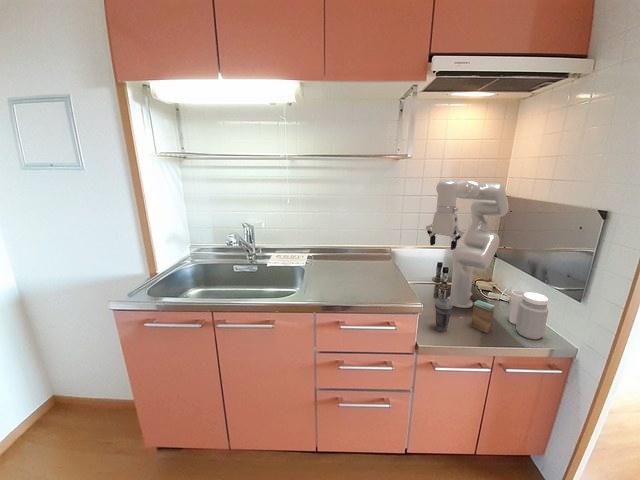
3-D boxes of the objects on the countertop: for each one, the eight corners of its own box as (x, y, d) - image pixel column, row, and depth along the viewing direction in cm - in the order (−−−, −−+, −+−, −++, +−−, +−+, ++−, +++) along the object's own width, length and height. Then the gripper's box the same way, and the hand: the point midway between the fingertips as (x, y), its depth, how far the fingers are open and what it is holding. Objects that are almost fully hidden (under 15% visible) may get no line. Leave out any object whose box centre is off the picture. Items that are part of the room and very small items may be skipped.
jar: (549, 338, 116) (557, 300, 111) (529, 342, 114) (537, 303, 110) (527, 326, 125) (534, 290, 121) (509, 329, 123) (515, 292, 119)
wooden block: (475, 323, 129) (478, 299, 126) (491, 329, 123) (494, 305, 120) (470, 326, 127) (473, 302, 124) (487, 332, 121) (490, 308, 118)
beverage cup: (449, 326, 127) (453, 286, 122) (450, 334, 121) (455, 293, 115) (432, 323, 130) (435, 284, 125) (433, 331, 123) (436, 291, 118)
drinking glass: (514, 317, 133) (518, 288, 129) (528, 324, 126) (533, 294, 123) (503, 320, 131) (508, 291, 127) (517, 327, 124) (522, 297, 121)
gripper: (470, 210, 116) (465, 249, 121) (432, 207, 130) (429, 241, 134) (461, 212, 112) (457, 252, 116) (423, 208, 125) (420, 244, 129)
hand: (442, 246), depth 125 cm, fingers open, 9 cm apart
